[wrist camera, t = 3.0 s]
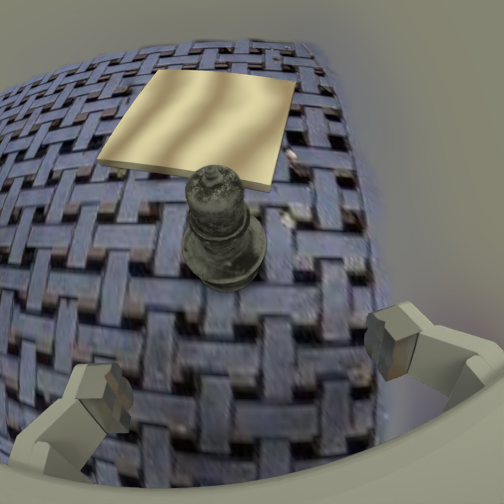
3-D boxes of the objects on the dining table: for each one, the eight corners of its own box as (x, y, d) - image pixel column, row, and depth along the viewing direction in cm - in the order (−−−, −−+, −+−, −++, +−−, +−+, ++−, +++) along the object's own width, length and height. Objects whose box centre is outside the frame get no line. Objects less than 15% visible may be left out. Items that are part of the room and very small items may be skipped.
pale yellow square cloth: (101, 165, 27) (96, 158, 26) (160, 76, 33) (158, 69, 32) (269, 192, 26) (270, 185, 25) (294, 89, 32) (295, 82, 31)
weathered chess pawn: (202, 220, 25) (174, 115, 14) (270, 235, 24) (287, 132, 13) (181, 285, 23) (124, 211, 12) (254, 303, 22) (261, 240, 11)
